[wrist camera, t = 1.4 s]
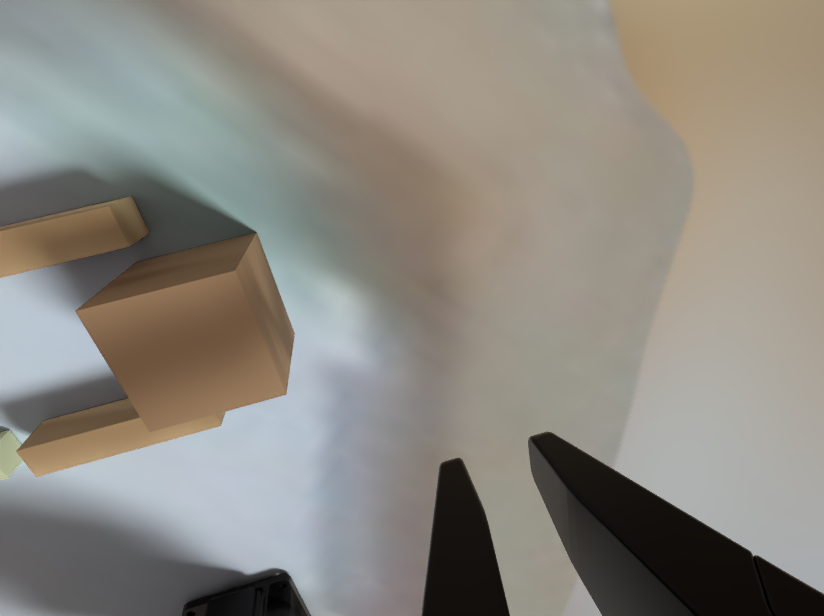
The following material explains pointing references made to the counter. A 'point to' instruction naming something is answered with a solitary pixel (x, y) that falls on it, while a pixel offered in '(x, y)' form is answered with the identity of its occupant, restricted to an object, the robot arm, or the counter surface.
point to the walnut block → (194, 332)
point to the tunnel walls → (105, 424)
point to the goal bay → (8, 454)
